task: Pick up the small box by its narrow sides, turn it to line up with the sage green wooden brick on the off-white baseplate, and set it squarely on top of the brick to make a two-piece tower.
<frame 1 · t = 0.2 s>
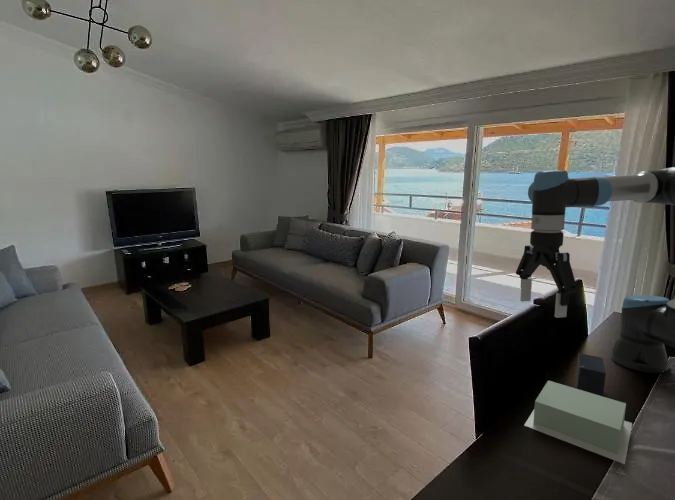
hand: (541, 308, 99), 27 cm above the table, tool pointing down, fingers open, 13 cm apart
small box: (588, 396, 105), on the table
base brick: (578, 424, 91), resting on baseplate
baseplate: (577, 427, 91), on the table
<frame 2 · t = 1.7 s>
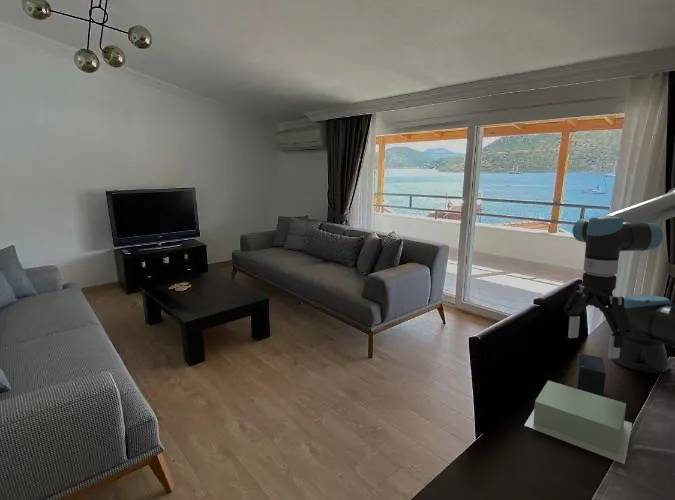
hand: (591, 347, 102), 15 cm above the table, tool pointing down, fingers open, 13 cm apart
nothing on the table moved.
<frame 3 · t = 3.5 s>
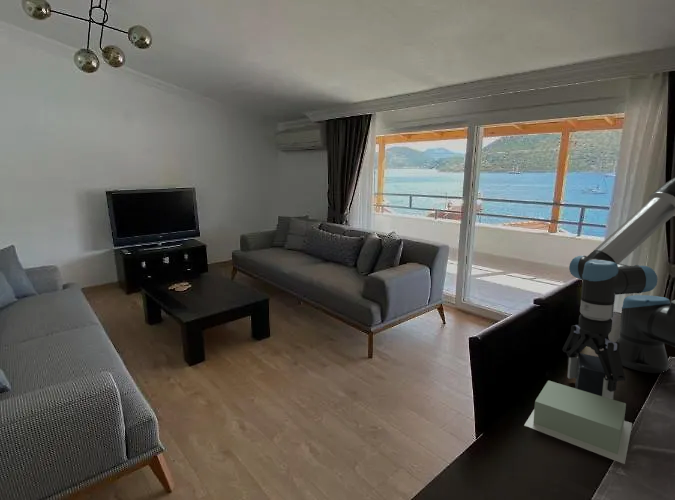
hand: (588, 388, 105), 2 cm above the table, tool pointing down, fingers closed on small box, 11 cm apart
small box: (588, 396, 105), on the table, touching gripper
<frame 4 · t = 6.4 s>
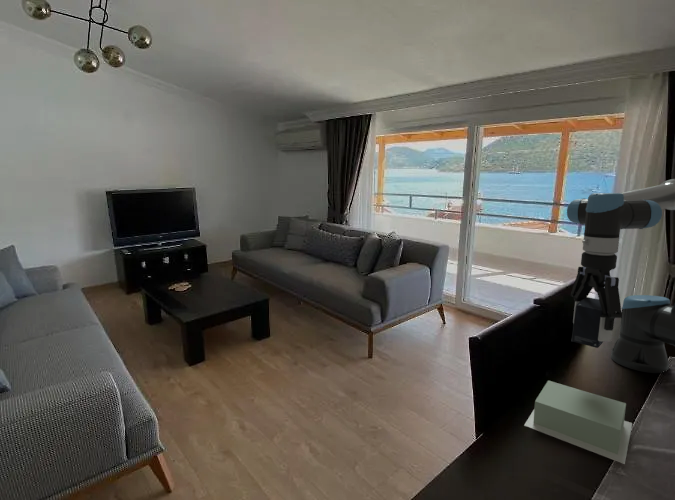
hand: (590, 331, 98), 21 cm above the table, tool pointing down, fingers closed on small box, 11 cm apart
small box: (589, 340, 99), point 18 cm above the table, touching gripper
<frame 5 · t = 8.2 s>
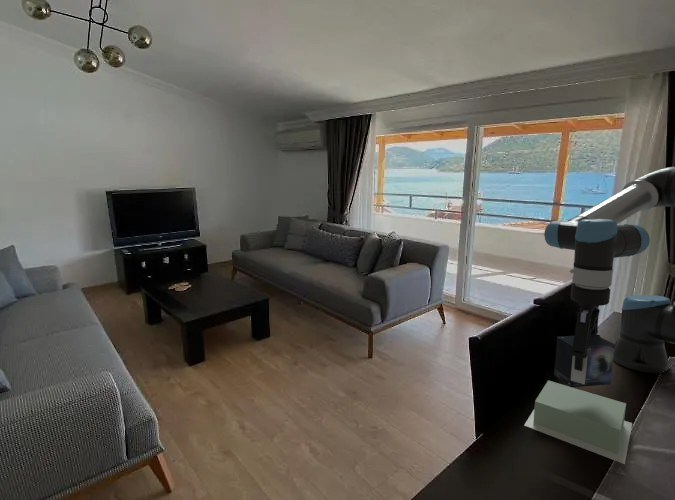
hand: (582, 371, 89), 15 cm above the table, tool pointing down, fingers closed on small box, 11 cm apart
small box: (581, 381, 89), point 13 cm above the table, touching gripper
when the fingers open (11 cm above the table, at t = 9.5 s): small box drops 2 cm, resting on base brick.
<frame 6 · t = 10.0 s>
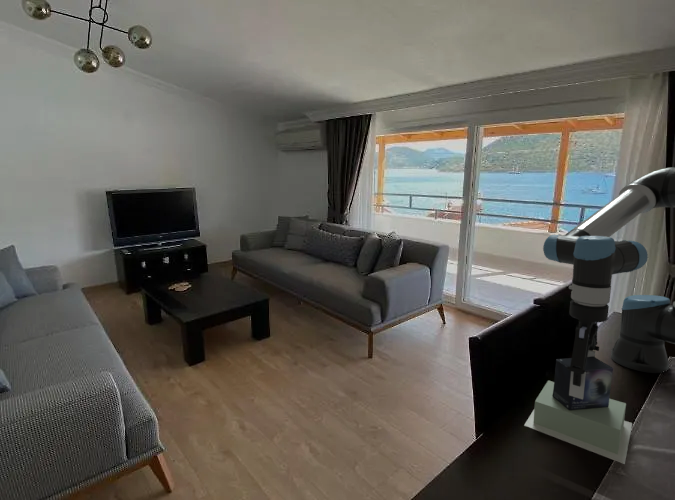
hand: (581, 384, 89), 12 cm above the table, tool pointing down, fingers open, 13 cm apart
small box: (579, 403, 90), point 7 cm above the table, touching base brick
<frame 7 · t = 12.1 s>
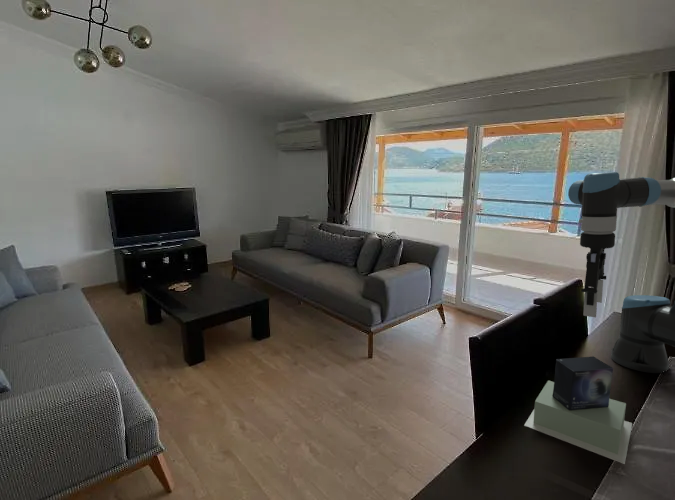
hand: (592, 308, 100), 26 cm above the table, tool pointing down, fingers open, 13 cm apart
nothing on the table moved.
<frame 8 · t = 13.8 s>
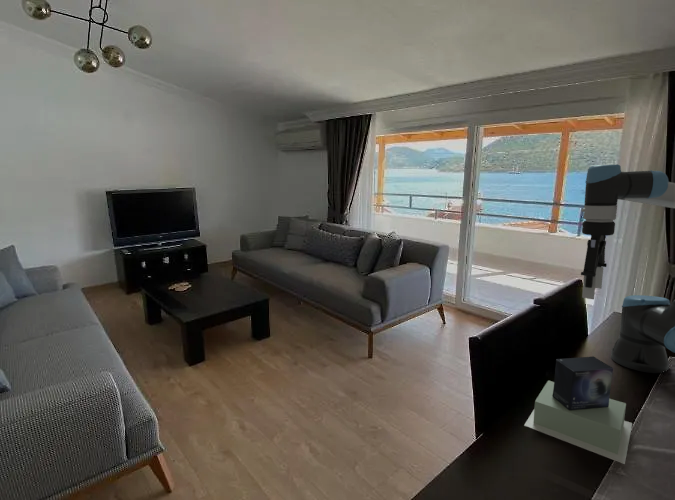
hand: (592, 292, 107), 29 cm above the table, tool pointing down, fingers open, 13 cm apart
nothing on the table moved.
at the end: small box 0.0 cm off-centre on the base brick, point 5.8 cm above the base brick's base; small box tilted 0°; the gripper is holding nothing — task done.
